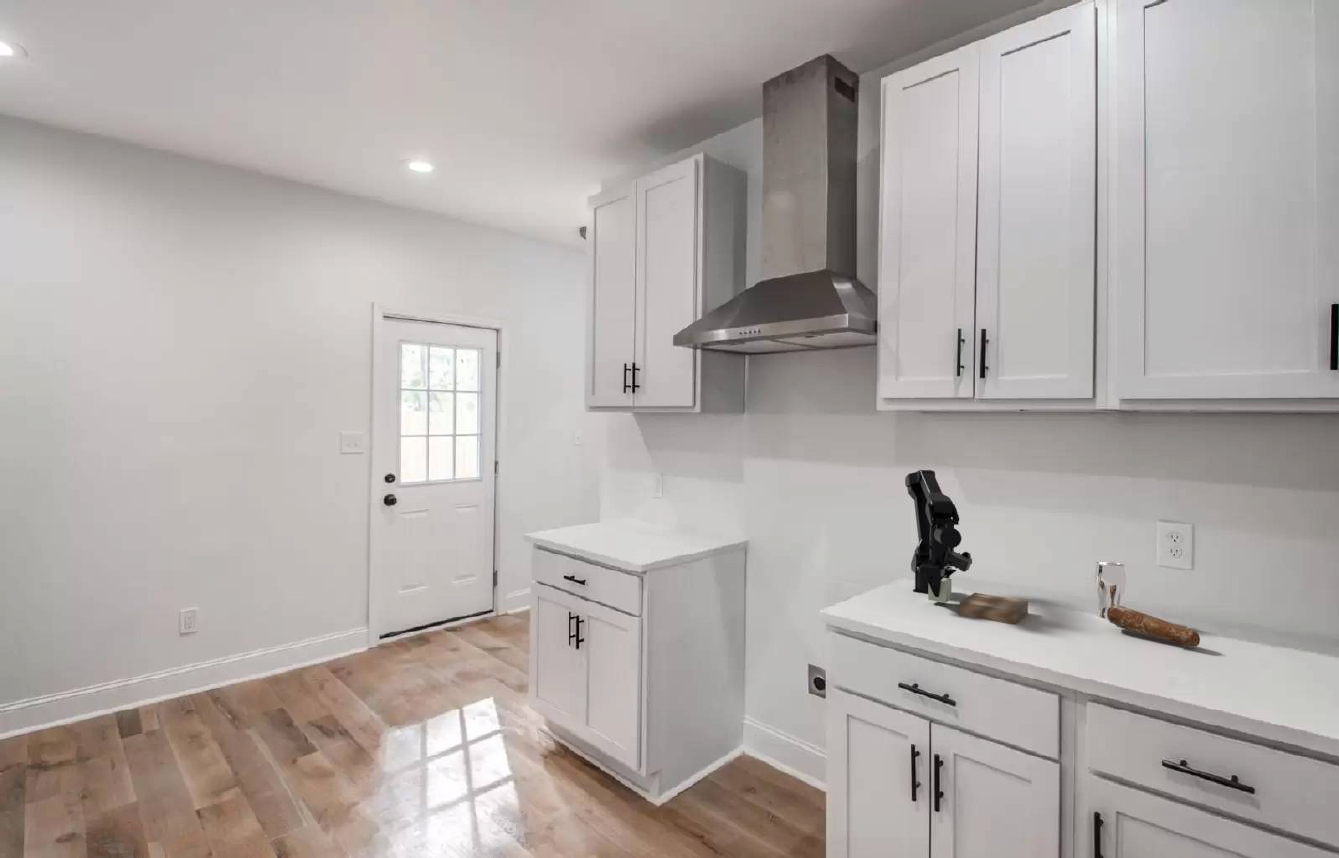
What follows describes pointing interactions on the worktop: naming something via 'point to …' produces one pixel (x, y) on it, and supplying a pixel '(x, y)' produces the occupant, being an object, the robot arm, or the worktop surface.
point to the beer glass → (1109, 585)
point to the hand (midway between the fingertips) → (939, 595)
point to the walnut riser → (994, 608)
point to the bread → (1151, 626)
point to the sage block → (942, 591)
